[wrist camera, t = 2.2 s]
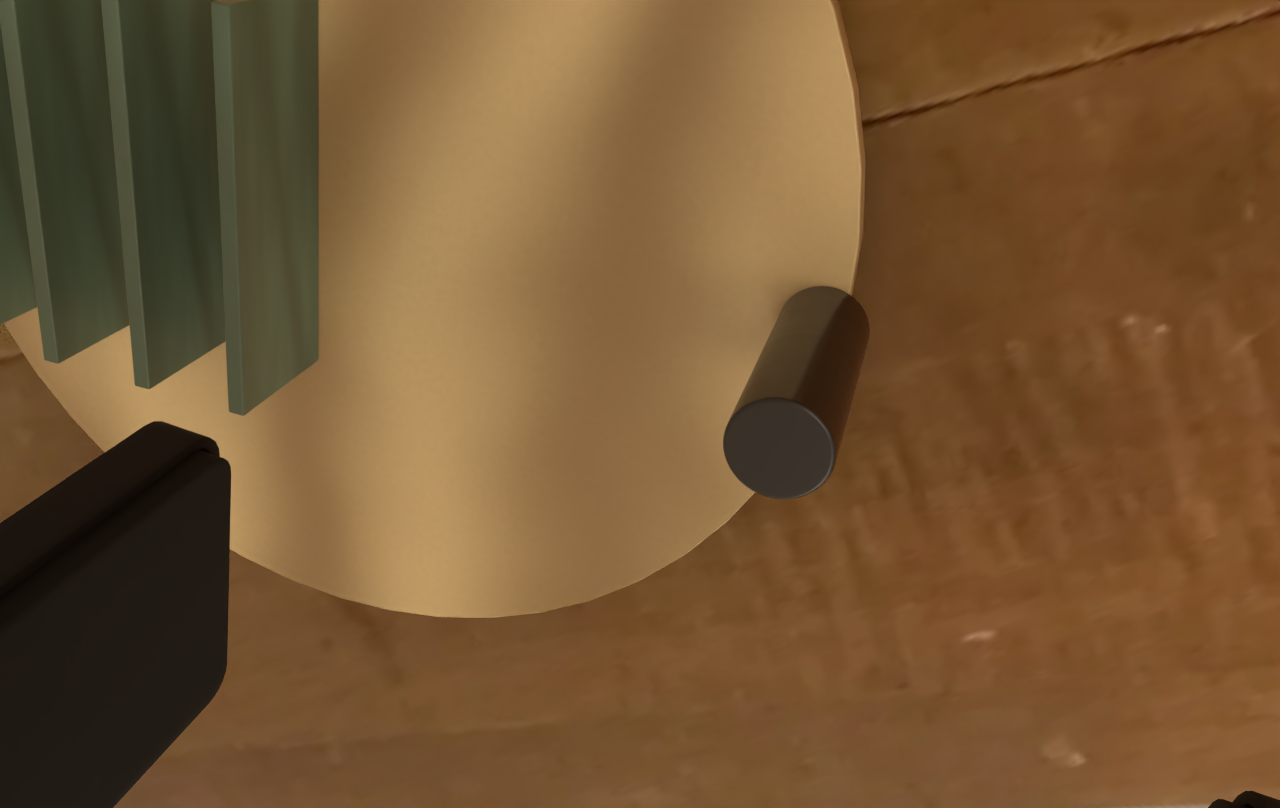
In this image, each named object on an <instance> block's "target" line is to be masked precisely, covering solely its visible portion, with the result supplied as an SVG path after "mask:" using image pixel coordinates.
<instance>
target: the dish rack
mask: <svg viewBox="0 0 1280 808" xmlns="http://www.w3.org/2000/svg"><path fill="white" fill-rule="evenodd" d="M865 164H866V159H865V149H864V139H863V129H862V119H861V109H860V99H859V89H858V82H857V78H856V74H855V69H854V65H853V61H852V57H851V52H850V48H849V44H848V40H847V35H846V31H845V27H844V23H843V18H842V14H841V10H840V6H839V3H838V0H0V325H1V324H3V323H4V325H5V326H6V328H7V329H8V331H9V332H10V334H11V335H12V337H13V338H14V340H15V341H16V343H17V345H18V346H19V348H20V349H21V351H22V352H23V354H24V355H25V357H26V358H27V360H28V361H29V363H30V364H31V366H32V367H33V369H34V370H35V372H36V373H37V374H38V376H39V377H40V378H41V379H42V381H43V382H44V383H45V384H46V386H47V387H48V388H49V389H50V391H51V392H52V393H53V395H54V396H55V397H56V398H57V400H58V401H59V402H60V403H61V405H62V406H63V407H64V408H65V410H66V411H67V412H68V414H69V415H70V416H71V417H72V418H73V419H74V420H75V421H76V423H77V424H78V425H79V426H80V427H81V428H82V429H83V430H84V431H85V432H86V433H87V434H88V435H89V436H90V437H91V438H92V440H93V441H94V442H95V443H96V444H97V445H98V446H99V447H100V448H101V449H102V450H103V451H104V452H106V451H108V450H109V449H111V448H112V447H114V446H115V445H117V444H118V443H120V442H121V441H123V440H124V439H126V438H127V437H129V436H130V435H132V434H133V433H134V432H136V431H137V430H139V429H140V428H142V427H143V426H145V425H147V424H149V423H151V422H153V421H163V422H165V423H168V424H171V425H174V426H177V427H180V428H183V429H186V430H189V431H192V432H195V433H198V434H201V435H204V436H207V437H210V438H211V439H213V440H214V441H216V443H217V445H218V447H219V453H220V457H222V458H224V459H226V460H227V461H228V462H229V464H230V466H231V507H230V549H231V550H233V551H234V552H236V553H238V554H239V555H241V556H243V557H245V558H247V559H249V560H251V561H253V562H255V563H257V564H259V565H261V566H263V567H265V568H267V569H269V570H271V571H274V572H276V573H278V574H280V575H282V576H284V577H286V578H288V579H290V580H293V581H295V582H298V583H301V584H304V585H306V586H309V587H312V588H315V589H317V590H320V591H323V592H325V593H328V594H331V595H334V596H336V597H339V598H343V599H347V600H351V601H355V602H359V603H363V604H367V605H371V606H375V607H379V608H383V609H387V610H392V611H399V612H407V613H414V614H421V615H429V616H436V617H466V618H495V617H504V616H514V615H523V614H532V613H541V612H545V611H550V610H554V609H558V608H562V607H566V606H570V605H574V604H578V603H583V602H587V601H591V600H593V599H596V598H598V597H601V596H603V595H606V594H608V593H611V592H613V591H616V590H619V589H621V588H624V587H626V586H629V585H631V584H634V583H636V582H639V581H641V580H642V579H644V578H646V577H648V576H649V575H651V574H653V573H655V572H656V571H658V570H660V569H662V568H663V567H665V566H667V565H669V564H670V563H672V562H674V561H676V560H677V559H679V558H681V557H683V556H684V555H686V554H687V553H688V552H690V551H691V550H692V549H693V548H695V547H696V546H697V545H698V544H700V543H701V542H702V541H704V540H705V539H706V538H707V537H709V536H710V535H711V534H712V533H714V532H715V531H716V530H718V529H719V528H720V527H721V526H723V525H724V524H725V523H726V522H728V521H729V520H730V518H731V517H732V516H733V515H734V514H735V513H736V512H737V511H738V510H739V509H740V508H741V507H742V506H743V505H744V504H745V503H746V501H747V500H748V499H749V498H750V497H751V496H752V495H753V494H754V493H755V492H756V493H758V494H761V495H764V496H767V497H771V498H776V499H792V498H798V497H802V496H804V495H807V494H809V493H811V492H813V491H815V490H816V489H818V488H819V487H820V486H822V485H823V484H824V483H825V482H826V480H827V479H828V478H829V476H830V475H831V473H832V471H833V469H834V466H835V462H836V459H837V455H838V451H839V448H840V444H841V440H842V436H843V433H844V429H845V425H846V422H847V418H848V414H849V410H850V407H851V403H852V399H853V396H854V392H855V388H856V384H857V381H858V377H859V373H860V369H861V366H862V362H863V358H864V355H865V351H866V347H867V343H868V339H869V330H870V329H869V322H868V318H867V316H866V313H865V311H864V309H863V308H862V306H861V305H860V304H859V303H858V302H857V301H856V299H854V298H853V297H852V295H853V289H854V284H855V278H856V272H857V266H858V260H859V255H860V249H861V243H862V237H863V223H864V194H865Z"/></svg>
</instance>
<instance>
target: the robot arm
mask: <svg viewBox="0 0 1280 808" xmlns="http://www.w3.org/2000/svg"><path fill="white" fill-rule="evenodd" d="M230 507H231V466H230V464H229V462H228V461H227V460H226V459H224V458H222V457H220V453H219V447H218V445H217V443H216V441H214V440H213V439H211V438H210V437H207V436H204V435H201V434H198V433H195V432H192V431H189V430H186V429H183V428H180V427H177V426H174V425H171V424H168V423H165V422H163V421H153V422H151V423H149V424H147V425H145V426H143V427H142V428H140V429H139V430H137V431H136V432H134V433H133V434H132V435H130V436H129V437H127V438H126V439H124V440H123V441H121V442H120V443H118V444H117V445H115V446H114V447H112V448H111V449H109V450H108V451H106V452H105V453H103V454H102V455H100V456H99V457H98V458H96V459H95V460H93V461H92V462H90V463H89V464H87V465H86V466H84V467H83V468H81V469H80V470H78V471H77V472H75V473H74V474H72V475H71V476H69V477H68V478H66V479H65V480H64V481H62V482H61V483H59V484H58V485H56V486H55V487H53V488H52V489H50V490H49V491H47V492H46V493H44V494H43V495H41V496H40V497H38V498H37V499H35V500H34V501H32V502H31V503H30V504H28V505H27V506H25V507H24V508H22V509H21V510H19V511H18V512H16V513H15V514H13V515H12V516H10V517H9V518H7V519H6V520H4V521H3V522H1V523H0V808H113V807H114V806H115V805H116V804H117V803H118V801H119V800H120V799H121V798H122V797H123V796H124V795H125V794H126V793H127V792H128V791H129V790H130V788H131V787H132V786H133V785H134V784H135V783H136V782H137V781H138V780H139V779H140V778H141V776H142V775H143V774H144V773H145V772H146V771H147V770H148V769H149V768H150V767H151V766H152V765H153V763H154V762H155V761H156V760H157V759H158V758H159V757H160V756H161V755H162V754H163V753H164V751H165V750H166V749H167V748H168V747H169V746H170V745H171V744H172V743H173V742H174V741H175V739H176V738H177V737H178V736H179V735H180V734H181V733H182V732H183V731H184V730H185V729H186V728H187V726H188V725H189V724H190V723H191V722H192V721H193V720H194V719H195V718H196V717H197V716H198V714H199V713H200V712H201V711H202V710H203V709H204V708H205V707H206V706H207V705H208V704H209V702H210V701H211V700H212V699H213V697H214V696H215V694H216V693H217V691H218V689H219V688H220V685H221V683H222V681H223V678H224V675H225V672H226V666H227V637H228V594H229V551H230ZM1208 808H1280V800H1277V799H1274V798H1271V797H1268V796H1265V795H1262V794H1259V793H1256V792H1254V791H1245V792H1243V793H1242V794H1240V795H1238V796H1237V797H1236V799H1235V800H1234V801H1233V802H1229V801H1226V800H1223V799H1217V800H1216V801H1214V802H1212V804H1211V805H1210V806H1209V807H1208Z"/></svg>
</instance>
